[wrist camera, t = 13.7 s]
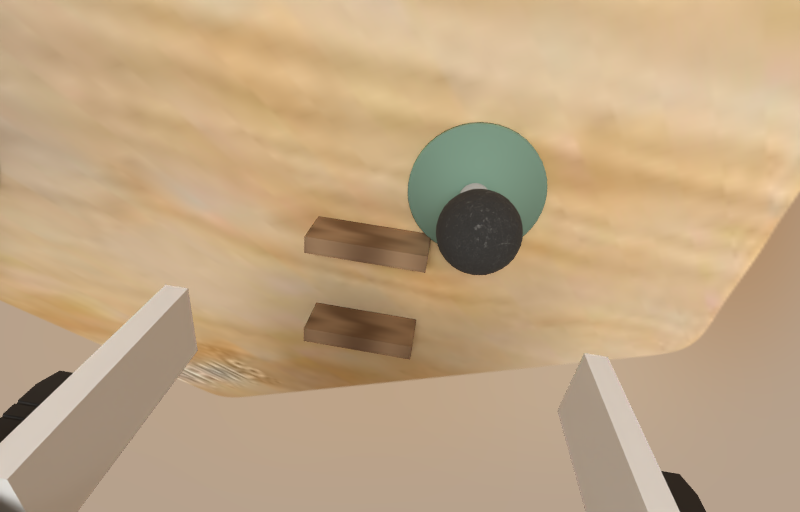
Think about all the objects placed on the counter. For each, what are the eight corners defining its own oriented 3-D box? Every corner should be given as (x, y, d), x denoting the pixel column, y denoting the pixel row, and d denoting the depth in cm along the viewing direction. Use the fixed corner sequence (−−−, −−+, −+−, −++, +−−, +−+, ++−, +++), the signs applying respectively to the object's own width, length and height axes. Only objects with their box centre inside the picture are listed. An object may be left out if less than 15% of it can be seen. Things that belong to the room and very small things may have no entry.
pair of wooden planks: (316, 314, 43) (303, 340, 39) (318, 216, 37) (304, 236, 34) (413, 331, 42) (409, 359, 39) (430, 234, 37) (427, 256, 33)
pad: (401, 239, 38) (400, 242, 37) (418, 112, 32) (417, 113, 32) (525, 259, 37) (526, 263, 37) (564, 133, 32) (566, 135, 31)
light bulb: (430, 171, 34) (422, 224, 25) (501, 150, 32) (518, 198, 23) (449, 233, 36) (448, 300, 27) (516, 215, 35) (537, 281, 26)
